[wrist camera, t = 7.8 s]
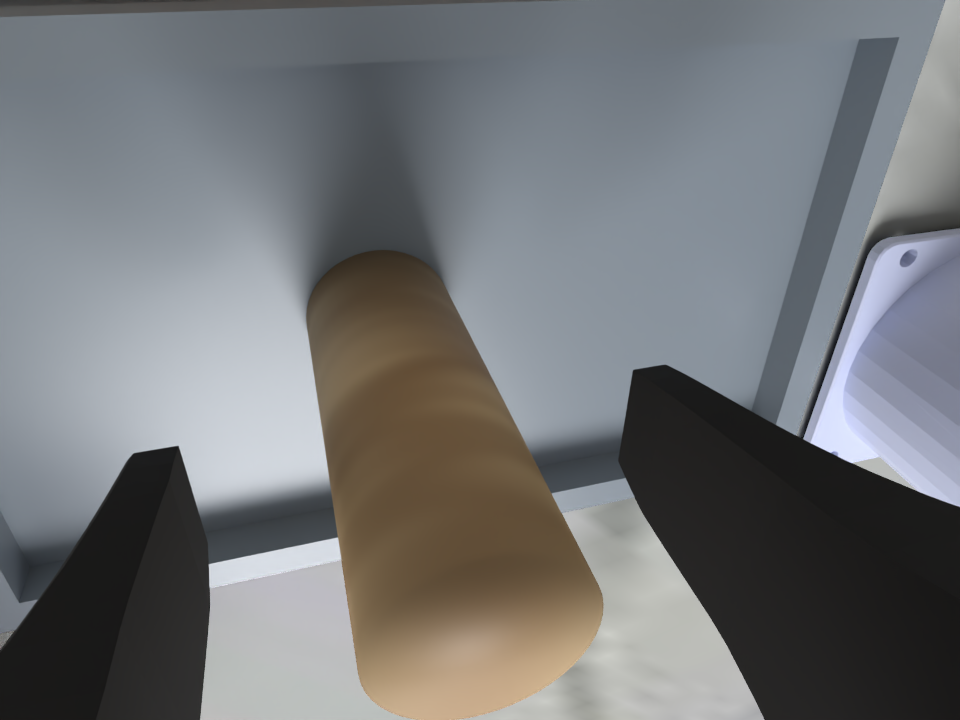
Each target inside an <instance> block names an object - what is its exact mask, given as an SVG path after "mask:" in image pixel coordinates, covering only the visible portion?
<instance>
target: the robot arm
mask: <svg viewBox="0 0 960 720" xmlns="http://www.w3.org/2000/svg"><path fill="white" fill-rule="evenodd" d="M876 457H881V458H882V459H883V460H884V461H885V462H886V463H887V464H888V465H889V466H891V467H892V468H893V469H894V470H895V471H896V472H897V473H898V474H900V475H901V476H902V477H903V478H904V479H905V480H906V481H907V482H908V483H910V484H911V485H912V486H913V487H914V488H915V489H916V490H917V491H915V490H913V489H911V488H908V487H906V486H903V485H901V484H899V483H896V482H894V481H891V480H889V479H887V478H884V477H882V476H879V475H877V474H875V473H872V472H870V471H868V470H866V469H863V468H861V467H859V466H857V465H855V464H852V463H853V462H858V461H862V460H867V459H871V458H876ZM618 462H619V464H620V467H621V469H622V471H623V473H624V475H625V478H626V480H627V482H628V484H629V487H630V489H631V491H632V493H633V495H634V497H635V499H636V501H637V503H638V505H639V507H640V509H641V511H642V513H643V514H644V516H645V518H646V519H647V521H648V523H649V524H650V526H651V527H652V529H653V530H654V532H655V533H656V535H657V537H658V538H659V540H660V541H661V543H662V544H663V546H664V548H665V549H666V551H667V552H668V554H669V555H670V557H671V558H672V560H673V561H674V563H675V564H676V566H677V567H678V569H679V570H680V572H681V574H682V575H683V577H684V578H685V580H686V581H687V583H688V584H689V586H690V587H691V589H692V590H693V592H694V593H695V595H696V596H697V598H698V599H699V601H700V603H701V604H702V606H703V607H704V609H705V610H706V612H707V613H708V615H709V616H710V618H711V619H712V621H713V623H714V624H715V626H716V628H717V629H718V631H719V633H720V634H721V636H722V638H723V639H724V641H725V643H726V645H727V646H728V648H729V650H730V652H731V654H732V656H733V658H734V660H735V662H736V664H737V666H738V668H739V669H740V671H741V673H742V675H743V677H744V679H745V681H746V683H747V685H748V687H749V689H750V691H751V693H752V695H753V696H754V698H755V700H756V703H757V705H758V707H759V709H760V711H761V713H762V715H763V717H764V719H765V720H960V228H957V229H949V230H942V231H934V232H926V233H919V234H911V235H903V236H896V237H889V238H886V239H883V240H881V241H880V242H878V243H877V244H876V245H875V246H874V247H873V248H872V249H871V251H870V253H869V254H868V257H867V259H866V262H865V265H864V268H863V271H862V274H861V276H860V279H859V282H858V285H857V288H856V291H855V293H854V296H853V299H852V302H851V305H850V308H849V311H848V313H847V316H846V319H845V322H844V325H843V328H842V330H841V333H840V336H839V339H838V342H837V345H836V347H835V350H834V353H833V356H832V359H831V362H830V364H829V367H828V370H827V373H826V376H825V379H824V382H823V384H822V387H821V390H820V393H819V396H818V399H817V401H816V404H815V407H814V410H813V413H812V416H811V418H810V421H809V424H808V427H807V430H806V433H805V435H804V438H803V439H802V438H800V437H798V436H796V435H794V434H792V433H790V432H788V431H786V430H785V429H783V428H781V427H779V426H777V425H775V424H773V423H772V422H770V421H768V420H766V419H764V418H763V417H761V416H759V415H757V414H755V413H754V412H752V411H750V410H748V409H746V408H745V407H743V406H741V405H739V404H738V403H736V402H734V401H732V400H731V399H729V398H727V397H725V396H723V395H722V394H720V393H718V392H716V391H715V390H713V389H711V388H709V387H708V386H706V385H704V384H702V383H700V382H699V381H697V380H695V379H693V378H691V377H690V376H688V375H686V374H684V373H682V372H680V371H678V370H676V369H674V368H672V367H670V366H668V365H666V364H665V365H659V366H653V367H647V368H641V369H635V370H633V372H632V378H631V385H630V391H629V397H628V403H627V409H626V415H625V421H624V428H623V434H622V440H621V446H620V452H619V458H618ZM918 491H919V492H918ZM209 613H210V586H209V558H208V542H207V538H206V535H205V532H204V528H203V525H202V522H201V518H200V515H199V512H198V508H197V505H196V502H195V498H194V495H193V492H192V488H191V485H190V482H189V478H188V475H187V472H186V468H185V465H184V462H183V458H182V455H181V452H180V448H179V446H173V447H167V448H161V449H155V450H149V451H143V452H137V453H133V454H132V455H131V457H130V458H129V459H128V460H127V461H126V463H125V465H124V467H123V468H122V470H121V472H120V473H119V475H118V477H117V479H116V480H115V482H114V484H113V485H112V487H111V489H110V491H109V492H108V494H107V496H106V497H105V499H104V501H103V502H102V504H101V506H100V507H99V509H98V510H97V512H96V514H95V515H94V517H93V519H92V520H91V522H90V523H89V525H88V527H87V528H86V530H85V531H84V533H83V534H82V536H81V537H80V539H79V540H78V542H77V543H76V545H75V547H74V548H73V550H72V551H71V553H70V554H69V556H68V557H67V559H66V560H65V562H64V563H63V565H62V566H61V568H60V569H59V571H58V572H57V574H56V575H55V577H54V578H53V580H52V581H51V582H50V584H49V585H48V587H47V588H46V589H45V591H44V592H43V593H42V595H41V596H40V598H39V599H38V600H37V602H36V603H35V604H34V606H33V607H32V608H31V610H30V611H29V612H28V614H27V615H26V617H25V618H24V619H23V621H22V622H21V623H20V625H19V626H18V627H17V629H16V630H15V632H14V633H13V634H12V636H11V637H10V638H9V639H8V641H7V642H6V643H5V645H4V646H3V647H2V648H1V650H0V720H200V713H201V703H202V692H203V681H204V670H205V659H206V648H207V637H208V625H209Z"/></svg>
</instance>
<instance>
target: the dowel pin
mask: <svg viewBox="0 0 960 720" xmlns="http://www.w3.org/2000/svg"><path fill="white" fill-rule="evenodd" d="M306 323H307V331H308V338H309V345H310V352H311V358H312V365H313V372H314V379H315V385H316V392H317V399H318V406H319V412H320V419H321V426H322V433H323V439H324V446H325V453H326V460H327V466H328V473H329V480H330V487H331V493H332V500H333V507H334V514H335V520H336V527H337V534H338V540H339V547H340V554H341V561H342V567H343V574H344V581H345V588H346V594H347V601H348V608H349V615H350V621H351V628H352V635H353V642H354V648H355V655H356V662H357V669H358V675H359V679H360V682H361V685H362V687H363V689H364V691H365V693H366V694H367V695H368V696H369V697H370V699H371V700H372V701H373V702H375V703H376V704H377V705H379V706H380V707H381V708H383V709H385V710H387V711H389V712H391V713H394V714H396V715H399V716H402V717H406V718H411V719H417V720H457V719H464V718H470V717H474V716H479V715H483V714H487V713H490V712H493V711H496V710H499V709H502V708H505V707H507V706H510V705H513V704H515V703H517V702H519V701H521V700H523V699H526V698H527V697H529V696H531V695H533V694H535V693H537V692H538V691H540V690H542V689H543V688H545V687H546V686H548V685H549V684H551V683H552V682H554V681H555V680H556V679H558V678H559V677H560V676H562V675H563V674H564V673H565V672H566V671H567V670H568V669H570V668H571V667H572V666H573V665H574V664H575V663H576V662H577V661H578V660H579V658H580V657H581V656H582V655H583V654H584V652H585V651H586V650H587V649H588V647H589V646H590V644H591V643H592V641H593V639H594V638H595V636H596V634H597V631H598V629H599V627H600V624H601V620H602V616H603V597H602V593H601V590H600V588H599V585H598V583H597V581H596V579H595V577H594V575H593V574H592V572H591V570H590V568H589V566H588V564H587V562H586V560H585V558H584V556H583V554H582V552H581V550H580V548H579V546H578V544H577V542H576V540H575V538H574V536H573V535H572V533H571V531H570V529H569V527H568V525H567V523H566V521H565V519H564V517H563V515H562V513H561V511H560V509H559V507H558V505H557V503H556V501H555V499H554V498H553V496H552V494H551V492H550V490H549V488H548V486H547V484H546V482H545V480H544V478H543V476H542V474H541V472H540V470H539V468H538V466H537V464H536V462H535V461H534V459H533V457H532V455H531V453H530V451H529V449H528V447H527V445H526V443H525V441H524V439H523V437H522V435H521V433H520V431H519V429H518V427H517V425H516V424H515V422H514V420H513V418H512V416H511V414H510V412H509V410H508V408H507V406H506V404H505V402H504V400H503V398H502V396H501V394H500V392H499V390H498V388H497V387H496V385H495V383H494V381H493V379H492V377H491V375H490V373H489V371H488V369H487V367H486V365H485V363H484V361H483V359H482V357H481V355H480V353H479V351H478V350H477V348H476V346H475V344H474V342H473V340H472V338H471V336H470V334H469V332H468V330H467V328H466V326H465V324H464V322H463V320H462V318H461V316H460V314H459V313H458V311H457V309H456V307H455V305H454V303H453V301H452V299H451V297H450V295H449V293H448V291H447V289H446V287H445V285H444V283H443V282H442V280H441V278H440V277H439V276H438V274H437V273H436V272H435V271H434V270H433V269H432V268H431V267H430V266H429V265H428V264H426V263H425V262H423V261H422V260H420V259H418V258H416V257H414V256H412V255H409V254H406V253H403V252H398V251H391V250H374V251H368V252H363V253H360V254H357V255H354V256H351V257H349V258H347V259H345V260H343V261H341V262H340V263H338V264H337V265H335V266H334V267H333V268H331V269H330V270H329V271H328V272H327V273H326V274H325V275H324V276H323V277H322V278H321V279H320V281H319V282H318V283H317V285H316V286H315V288H314V290H313V292H312V294H311V296H310V299H309V302H308V306H307V313H306Z"/></svg>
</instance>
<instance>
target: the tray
mask: <svg viewBox="0 0 960 720" xmlns="http://www.w3.org/2000/svg"><path fill="white" fill-rule="evenodd" d="M944 3H945V0H0V633H4V632H9V631H13V630H16V629H17V627H18V626H19V625H20V623H21V622H22V621H23V619H24V618H25V617H26V615H27V614H28V612H29V611H30V610H31V608H32V607H33V606H34V604H35V603H36V602H37V600H38V599H39V598H40V596H41V595H42V593H43V592H44V591H45V589H46V588H47V587H48V585H49V584H50V582H51V581H52V580H53V578H54V577H55V575H56V574H57V572H58V571H59V569H60V568H61V566H62V565H63V563H64V562H65V560H66V559H67V557H68V556H69V554H70V553H71V551H72V550H73V548H74V547H75V545H76V543H77V542H78V540H79V539H80V537H81V536H82V534H83V533H84V531H85V530H86V528H87V527H88V525H89V523H90V522H91V520H92V519H93V517H94V515H95V514H96V512H97V510H98V509H99V507H100V506H101V504H102V502H103V501H104V499H105V497H106V496H107V494H108V492H109V491H110V489H111V487H112V485H113V484H114V482H115V480H116V479H117V477H118V475H119V473H120V472H121V470H122V468H123V467H124V465H125V463H126V461H127V460H128V459H129V458H130V457H131V455H132V454H133V453H137V452H143V451H149V450H155V449H161V448H167V447H173V446H179V448H180V452H181V455H182V458H183V462H184V465H185V468H186V472H187V475H188V478H189V482H190V485H191V488H192V492H193V495H194V498H195V502H196V505H197V508H198V512H199V515H200V518H201V522H202V525H203V528H204V532H205V535H206V538H207V542H208V558H209V586H210V588H214V587H219V586H223V585H228V584H233V583H237V582H242V581H247V580H251V579H256V578H261V577H265V576H270V575H275V574H279V573H284V572H289V571H293V570H298V569H303V568H307V567H312V566H317V565H321V564H326V563H331V562H335V561H340V560H341V554H340V547H339V540H338V534H337V527H336V520H335V514H334V507H333V500H332V493H331V487H330V480H329V473H328V466H327V460H326V453H325V446H324V439H323V433H322V426H321V419H320V412H319V406H318V399H317V392H316V385H315V379H314V372H313V365H312V358H311V352H310V345H309V338H308V331H307V323H306V313H307V306H308V302H309V299H310V296H311V294H312V292H313V290H314V288H315V286H316V285H317V283H318V282H319V281H320V279H321V278H322V277H323V276H324V275H325V274H326V273H327V272H328V271H329V270H330V269H331V268H333V267H334V266H335V265H337V264H338V263H340V262H341V261H343V260H345V259H347V258H349V257H351V256H354V255H357V254H360V253H363V252H368V251H374V250H391V251H398V252H403V253H406V254H409V255H412V256H414V257H416V258H418V259H420V260H422V261H423V262H425V263H426V264H428V265H429V266H430V267H431V268H432V269H433V270H434V271H435V272H436V273H437V274H438V276H439V277H440V278H441V280H442V282H443V283H444V285H445V287H446V289H447V291H448V293H449V295H450V297H451V299H452V301H453V303H454V305H455V307H456V309H457V311H458V313H459V314H460V316H461V318H462V320H463V322H464V324H465V326H466V328H467V330H468V332H469V334H470V336H471V338H472V340H473V342H474V344H475V346H476V348H477V350H478V351H479V353H480V355H481V357H482V359H483V361H484V363H485V365H486V367H487V369H488V371H489V373H490V375H491V377H492V379H493V381H494V383H495V385H496V387H497V388H498V390H499V392H500V394H501V396H502V398H503V400H504V402H505V404H506V406H507V408H508V410H509V412H510V414H511V416H512V418H513V420H514V422H515V424H516V425H517V427H518V429H519V431H520V433H521V435H522V437H523V439H524V441H525V443H526V445H527V447H528V449H529V451H530V453H531V455H532V457H533V459H534V461H535V462H536V464H537V466H538V468H539V470H540V472H541V474H542V476H543V478H544V480H545V482H546V484H547V486H548V488H549V490H550V492H551V494H552V496H553V498H554V499H555V501H556V503H557V505H558V507H559V509H560V511H561V513H564V512H569V511H573V510H578V509H583V508H587V507H592V506H597V505H601V504H606V503H611V502H615V501H620V500H625V499H629V498H634V495H633V493H632V491H631V489H630V487H629V484H628V482H627V480H626V478H625V475H624V473H623V471H622V469H621V467H620V464H619V462H618V458H619V452H620V446H621V440H622V434H623V428H624V421H625V415H626V409H627V403H628V397H629V391H630V385H631V378H632V372H633V370H635V369H641V368H647V367H653V366H659V365H665V364H666V365H668V366H670V367H672V368H674V369H676V370H678V371H680V372H682V373H684V374H686V375H688V376H690V377H691V378H693V379H695V380H697V381H699V382H700V383H702V384H704V385H706V386H708V387H709V388H711V389H713V390H715V391H716V392H718V393H720V394H722V395H723V396H725V397H727V398H729V399H731V400H732V401H734V402H736V403H738V404H739V405H741V406H743V407H745V408H746V409H748V410H750V411H752V412H754V413H755V414H757V415H759V416H761V417H763V418H764V419H766V420H768V421H770V422H772V423H773V424H775V425H777V426H779V427H781V428H783V429H785V430H786V431H788V432H790V433H792V434H794V435H796V434H797V431H798V428H799V425H800V422H801V419H802V416H803V413H804V410H805V408H806V405H807V402H808V399H809V396H810V393H811V390H812V387H813V384H814V381H815V378H816V376H817V373H818V370H819V367H820V364H821V361H822V358H823V355H824V352H825V349H826V346H827V343H828V341H829V338H830V335H831V332H832V329H833V326H834V323H835V320H836V317H837V314H838V311H839V309H840V306H841V303H842V300H843V297H844V294H845V291H846V288H847V285H848V282H849V279H850V276H851V274H852V271H853V268H854V265H855V262H856V259H857V256H858V253H859V250H860V247H861V244H862V242H863V239H864V236H865V233H866V230H867V227H868V224H869V221H870V218H871V215H872V212H873V209H874V207H875V204H876V201H877V198H878V195H879V192H880V189H881V186H882V183H883V180H884V177H885V175H886V172H887V169H888V166H889V163H890V160H891V157H892V154H893V151H894V148H895V145H896V142H897V140H898V137H899V134H900V131H901V128H902V125H903V122H904V119H905V116H906V113H907V110H908V108H909V105H910V102H911V99H912V96H913V93H914V90H915V87H916V84H917V81H918V78H919V75H920V73H921V70H922V67H923V64H924V61H925V58H926V55H927V52H928V49H929V46H930V43H931V41H932V38H933V35H934V32H935V29H936V26H937V23H938V20H939V17H940V14H941V11H942V8H943V6H944Z"/></svg>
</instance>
